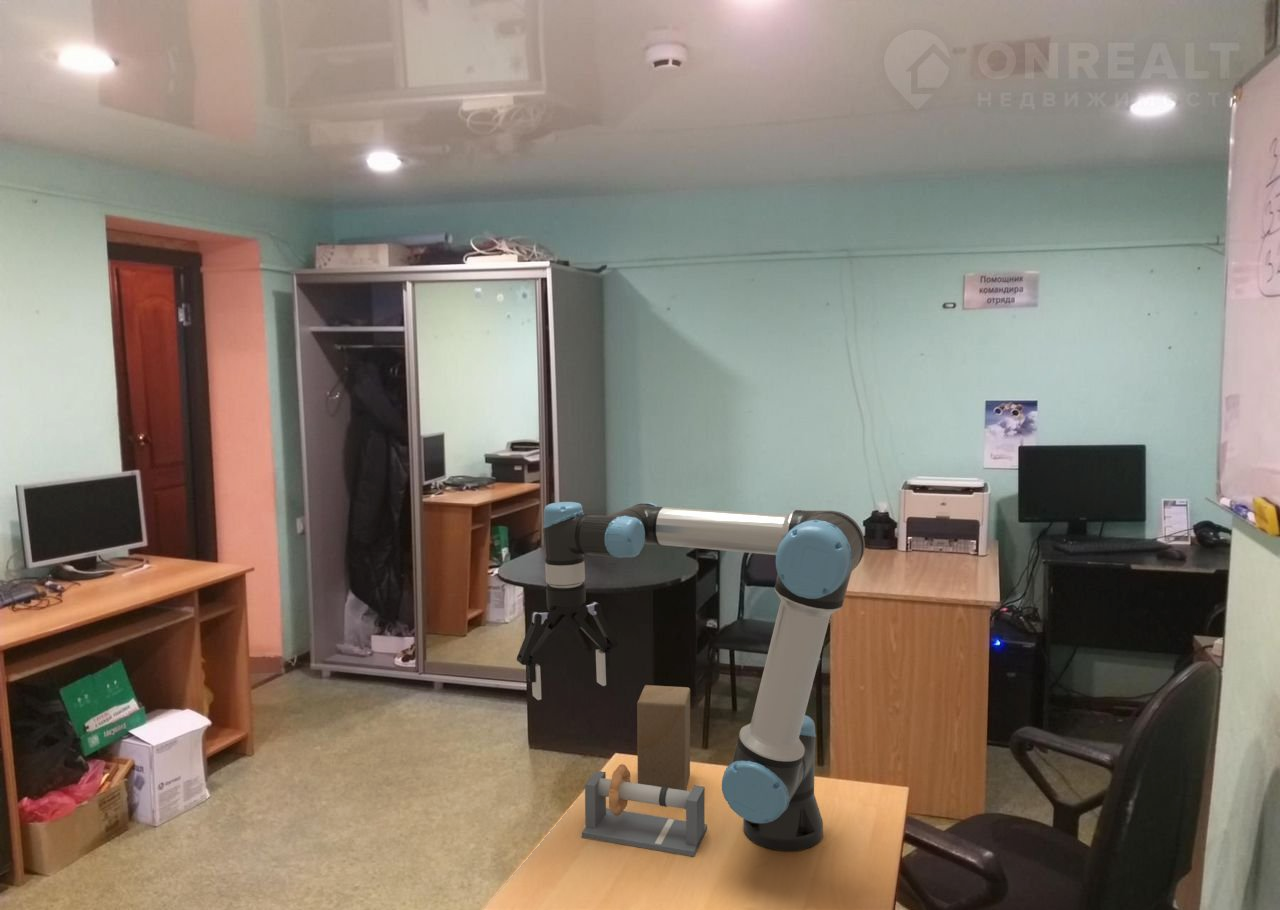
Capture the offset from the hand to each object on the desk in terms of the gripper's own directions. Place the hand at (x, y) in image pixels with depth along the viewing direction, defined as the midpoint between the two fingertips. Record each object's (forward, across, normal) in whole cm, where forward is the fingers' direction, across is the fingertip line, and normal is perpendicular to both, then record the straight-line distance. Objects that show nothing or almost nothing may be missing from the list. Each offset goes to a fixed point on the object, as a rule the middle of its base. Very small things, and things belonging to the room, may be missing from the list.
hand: (569, 690), depth 174 cm
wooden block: (+27, -23, -5) cm, 36 cm away
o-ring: (+23, -6, +7) cm, 25 cm away
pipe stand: (+27, -10, +11) cm, 30 cm away
